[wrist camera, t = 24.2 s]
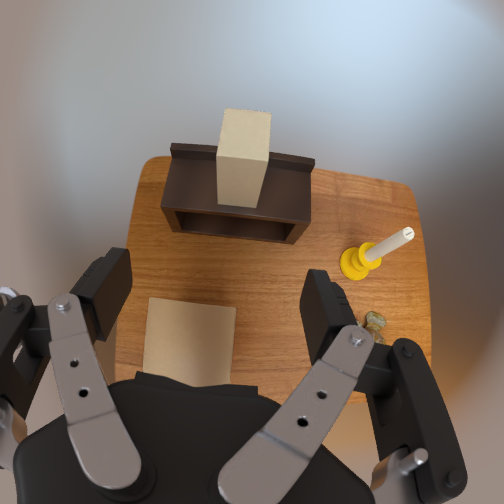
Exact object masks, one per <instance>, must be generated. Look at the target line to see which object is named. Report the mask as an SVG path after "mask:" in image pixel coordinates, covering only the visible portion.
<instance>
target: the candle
mask: <svg viewBox="0 0 504 504" xmlns="http://www.w3.org/2000/svg"><path fill="white" fill-rule="evenodd" d="M413 237H414V231H413V229H412V228H410V227H406V228H404V229H402V230H401V231H399V232H397V233H395V234H394V235H392V236H390V237H389V238H387V239H385V240H384V241H382V242H380V243H379V244H377V245H375V244H374V243H371V242H366V243H364V244H362V245H361V246H360V248H356V247H352V248H349V249H347V250H345V251H344V252H343V254H342V255H341V258H340V268H341V270H342V272H343V274H344V275H345V276H346V277H347V278H348V279H351V280H355V281H357V280H361V279H363V278H365V277H366V276H367V274H368V273H369V270H370V269H375V268H377V267H378V266H379V265H380V263H381V261H382V256H383V255H385V254H387V253H389V252H391V251H393V250H394V249H396V248H398V247H400V246H402V245H404V244H405V243H407V242H408V241H410V240H411V239H413Z"/></svg>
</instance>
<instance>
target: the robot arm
mask: <svg viewBox="0 0 504 504" xmlns="http://www.w3.org/2000/svg"><path fill="white" fill-rule="evenodd" d="M132 281H133V280H132V270H131V261H130V253H129V250H128V249H123V248H114V247H113V248H111V249H110V250H109V252H108V253H107V254H106V256H105V257H100V258H99V259H97V260H95V261H94V262H93V263H92V264H91V265H90V266H89V268H88V269H87V270H86V271H85V273H84V274H83V276H81V278H80V279H79V280H78V282H77V283H76V284H75V286H74V287H73V288H72V290H71V291H70V292H69V293H64V294H60V295H57V296H56V297H54V298H53V299H52V300H51V301H50V302H49V304H48V305H45V306H34V305H33V303H32V300H31V298H30V297H28V296H26V295H19V296H16V297H14V298H11V297H10V296H9V295H7V294H5V293H0V469H7V470H8V471H10V472H12V473H14V478H15V483H16V491H17V504H442V503H444V502H446V501H448V500H450V499H453V498H455V497H457V496H458V495H460V494H461V493H462V492H463V490H464V489H465V487H466V484H467V479H468V478H467V471H466V467H465V463H464V460H463V456H462V453H461V450H460V447H459V443H458V440H457V437H456V434H455V431H454V428H453V425H452V422H451V420H450V417H449V414H448V411H447V409H446V406H445V403H444V401H443V398H442V396H441V393H440V390H439V388H438V386H437V383H436V381H435V378H434V376H433V374H432V371H431V369H430V367H429V365H428V362H427V360H426V358H425V356H424V354H423V351H422V349H421V348H420V346H419V345H418V344H417V343H415V342H414V341H412V340H410V339H407V338H400V339H397V340H396V341H395V342H394V344H393V345H392V346H389V345H385V344H381V343H377V342H374V339H373V336H372V335H371V334H370V332H368V331H367V330H366V329H364V328H362V327H360V326H358V323H357V321H356V319H355V316H354V314H353V311H352V309H351V307H350V306H349V302H348V300H347V299H346V298H347V297H346V295H345V293H344V291H343V289H342V288H341V287H340V286H339V285H338V284H337V283H336V282H331V281H330V278H329V276H328V274H327V271H325V270H315V269H309V270H308V272H307V276H306V279H305V283H304V287H303V290H302V294H301V297H300V313H301V318H302V322H303V327H304V332H305V337H306V341H307V346H308V351H309V356H310V361H311V366H313V367H312V368H311V369H310V371H309V372H308V373H307V375H306V376H305V377H304V378H303V380H302V381H301V382H300V384H299V385H298V386H297V387H296V389H295V390H294V391H293V392H292V394H291V395H290V396H289V397H288V399H287V400H286V401H285V402H284V404H283V405H280V404H279V403H277V402H276V401H273V400H271V399H269V398H267V397H264V396H261V395H258V386H248V385H234V384H223V385H214V386H204V387H193V386H190V385H187V384H184V383H181V382H179V381H176V380H174V379H171V378H168V377H166V376H161V375H155V374H150V373H144V372H139V371H137V372H136V375H135V379H130V380H123V381H119V382H116V383H113V384H111V385H109V384H108V382H107V379H106V377H105V374H104V372H103V369H102V366H101V364H100V361H99V358H98V356H97V353H96V350H95V347H94V343H95V341H96V340H100V341H104V342H105V341H106V340H107V337H108V335H109V333H110V331H111V329H112V327H113V325H114V323H115V321H116V319H117V317H118V315H119V313H120V311H121V309H122V307H123V305H124V303H125V301H126V299H127V297H128V295H129V293H130V291H131V288H132ZM19 343H21V345H22V346H23V347H22V349H21V351H20V353H19V355H18V356H17V358H16V360H15V362H14V363H13V354H14V352H15V350H16V348H17V346H18V345H19ZM50 359H52V365H53V370H54V375H55V379H56V383H57V387H58V391H59V395H60V399H61V403H62V406H63V409H64V414H63V415H61V416H60V417H58V418H57V419H55V420H53V421H52V422H50V423H49V424H47V425H45V426H44V427H42V428H40V429H39V430H37V431H36V432H34V433H32V434H31V435H29V436H28V435H27V426H26V423H25V419H26V416H27V414H28V411H29V408H30V405H31V403H32V400H33V398H34V395H35V393H36V390H37V388H38V385H39V383H40V380H41V378H42V376H43V374H44V372H45V369H46V367H47V365H48V363H49V361H50ZM352 391H357V392H362V393H365V394H366V398H367V403H368V407H369V411H370V416H371V420H372V425H373V430H374V435H375V440H376V444H377V450H378V454H379V460H380V462H379V463H378V464H377V465H376V467H375V468H374V470H373V472H372V482H371V486H370V488H369V486H368V485H367V484H366V483H365V482H364V481H363V480H362V479H360V478H359V477H358V476H357V475H356V474H354V472H352V471H351V470H350V469H349V468H348V467H347V466H346V465H344V464H343V463H342V462H341V461H340V460H339V459H338V458H337V457H336V456H334V455H333V454H332V453H331V452H330V451H329V450H328V449H327V448H326V447H325V446H324V445H322V442H323V440H324V439H325V437H326V435H327V434H328V432H329V431H330V429H331V428H332V426H333V424H334V423H335V421H336V419H337V418H338V416H339V414H340V412H341V411H342V409H343V407H344V406H345V404H346V402H347V400H348V399H349V397H350V395H351V393H352Z"/></svg>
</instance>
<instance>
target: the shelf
mask: <svg viewBox="0 0 504 504" xmlns="http://www.w3.org/2000/svg"><path fill="white" fill-rule="evenodd" d="M217 149H218V146H211V145H198V144H182V143H172V144H171V147H170V151H171V155H172V161H171V165H170V169H169V173H168V177H167V181H166V185H165V189H164V193H163V198H162V202H161V209H162V211H163V213H164V215H165V217H166V219H167V221H168V223H169V225H170V227H171V229H172V231H173V232H180V233H190V234H200V235H210V236H219V237H228V238H238V239H247V240H256V241H265V242H274V243H283V244H292V245H294V243H295V242H296V241H297V240H298V238H299V237H300V236H301V235H302V233H303V232H304V231H305V230H306V228H307V227H308V226H309V224H310V223H311V172H312V170H313V168H314V166H315V159H312V158H306V157H301V156H294V155H287V154H281V153H274V152H269V160H268V165H267V169H266V172H265V176H264V180H263V184H262V187H261V191H260V195H259V199H258V202H257V206H256V208H250V207H241V206H232V205H222V204H218V194H217V161H216V155H217Z"/></svg>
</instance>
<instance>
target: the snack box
mask: <svg viewBox="0 0 504 504" xmlns="http://www.w3.org/2000/svg"><path fill="white" fill-rule="evenodd" d="M270 128H271V113H267V112H258V111H251V110H242V109H231V108H226V109H225V113H224V118H223V123H222V128H221V133H220V139H219V144H218V149H217V155H216V161H217V194H218V204H222V205H232V206H241V207H250V208H256V206H257V202H258V199H259V195H260V191H261V187H262V184H263V180H264V176H265V172H266V169H267V165H268V160H269V144H270V130H271V129H270Z"/></svg>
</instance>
